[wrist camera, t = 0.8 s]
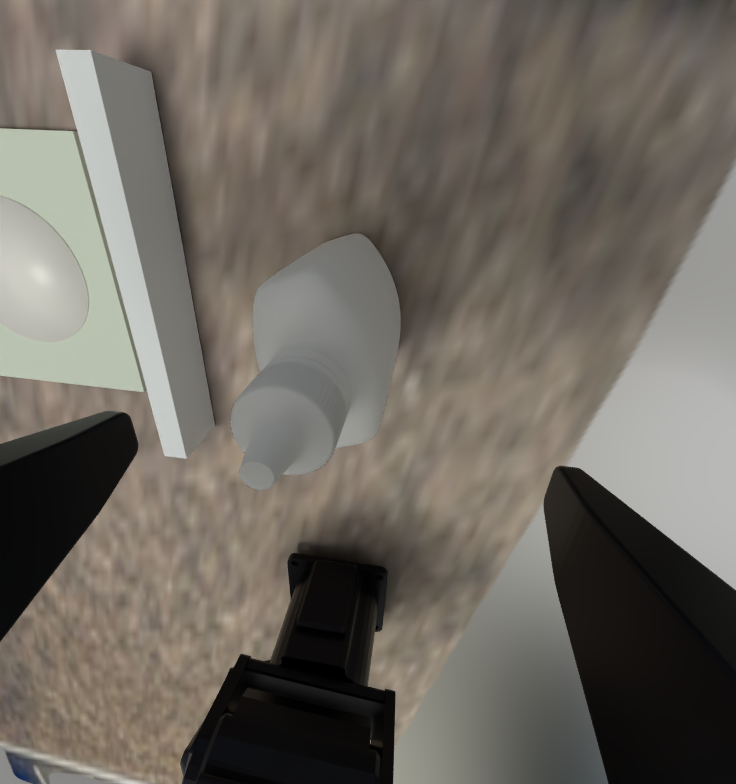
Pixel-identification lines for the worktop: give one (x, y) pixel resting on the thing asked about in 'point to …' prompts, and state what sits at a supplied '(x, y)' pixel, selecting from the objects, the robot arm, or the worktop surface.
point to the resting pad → (58, 269)
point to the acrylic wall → (142, 237)
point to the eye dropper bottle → (318, 360)
